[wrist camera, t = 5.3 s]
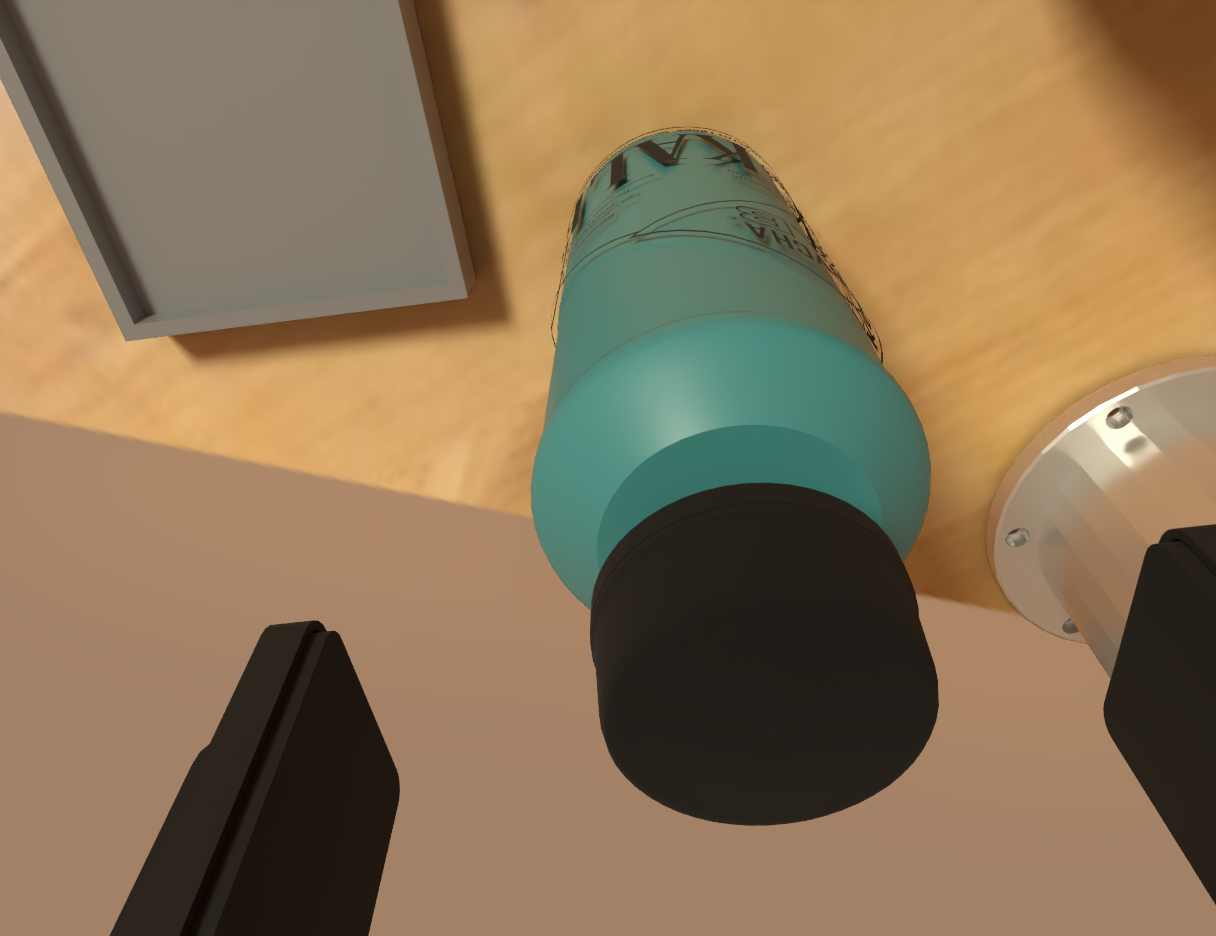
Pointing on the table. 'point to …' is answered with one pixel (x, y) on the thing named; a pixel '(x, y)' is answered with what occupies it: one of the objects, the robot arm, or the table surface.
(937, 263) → the table surface
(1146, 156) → the table surface
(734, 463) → the beverage bottle
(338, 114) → the tray
